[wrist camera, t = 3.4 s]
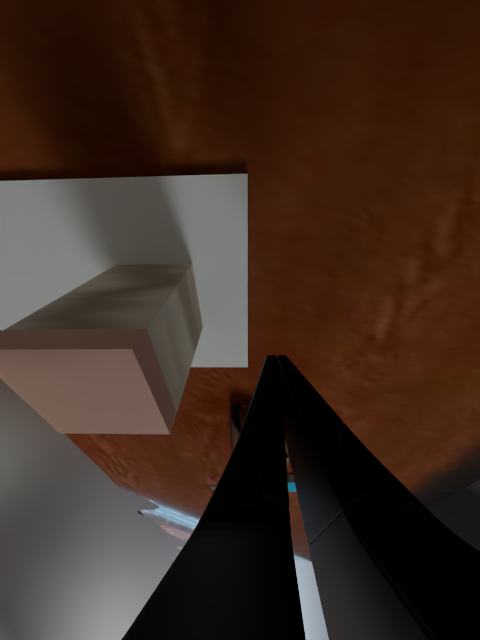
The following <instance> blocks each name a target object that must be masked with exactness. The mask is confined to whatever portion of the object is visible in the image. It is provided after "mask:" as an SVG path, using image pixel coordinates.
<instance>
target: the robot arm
mask: <svg viewBox="0 0 480 640" xmlns="http://www.w3.org/2000/svg"><path fill="white" fill-rule="evenodd" d="M285 441H286V442H285ZM286 445H287V450H288V454H289V459H290V463H291V468H292V473H293V477H294V482H295V486H296V491H297V495H298V500H299V504H300V509H301V514H302V518H303V523H304V527H305V532H306V536H307V541H308V545H309V550H310V555H311V559H312V564H313V569H314V573H315V577H316V582H317V586H318V591H319V596H320V600H321V605H322V609H323V614H324V618H325V623H326V627H327V632H328V637H329V640H480V551H478V550H477V549H475V548H474V547H472V546H471V545H470V544H468V543H467V542H466V541H464V540H463V539H461V538H460V537H458V535H456V534H455V533H454V532H453V531H451V530H450V529H449V528H448V527H447V526H445V525H444V524H443V523H442V522H441V521H440V520H438V519H437V518H436V517H435V516H434V515H433V514H432V513H431V512H430V511H429V510H428V509H427V508H426V507H425V506H424V505H423V504H422V503H421V502H420V501H419V500H418V499H417V498H416V497H415V496H414V495H413V494H412V493H411V492H410V491H409V490H408V489H407V488H406V487H405V486H404V485H403V484H402V483H401V482H400V481H399V480H398V479H397V478H396V477H395V476H394V475H393V474H392V473H391V472H390V471H389V470H388V469H387V468H386V467H385V466H384V465H383V464H382V463H381V462H380V461H379V460H378V459H377V458H376V457H375V456H374V455H373V454H372V453H371V452H370V451H369V450H368V449H367V448H366V447H365V446H364V445H363V444H362V442H361V441H360V440H359V439H358V438H357V437H356V436H355V435H354V434H353V432H352V431H351V430H350V429H349V428H348V427H347V425H346V424H343V421H342V420H341V419H340V417H339V416H338V415H337V414H336V413H335V412H334V411H333V409H332V408H331V407H330V406H329V405H328V404H327V402H326V401H325V400H324V399H323V398H322V397H321V395H320V394H319V393H318V392H317V391H316V390H315V389H314V387H313V386H312V385H311V384H310V383H309V382H308V380H307V379H306V378H305V377H304V376H303V375H302V373H301V372H300V371H299V370H298V369H297V368H296V367H295V365H294V364H293V363H292V362H291V361H290V360H289V358H288V357H287V356H285V355H277V356H275V355H267V356H266V359H265V362H264V365H263V368H262V370H261V373H260V376H259V379H258V382H257V385H256V388H255V391H254V394H253V397H252V400H251V403H250V406H249V409H248V412H247V415H246V418H245V421H244V423H243V426H242V429H241V432H240V435H239V438H238V440H237V443H236V446H235V448H234V450H233V453H232V455H231V457H230V459H229V462H228V464H227V466H226V468H225V470H224V472H223V474H222V476H221V478H220V480H219V482H218V484H217V486H216V489H215V491H214V493H213V495H212V497H211V499H210V501H209V503H208V505H207V507H206V509H205V511H204V513H203V515H202V517H201V519H200V521H199V522H198V524H197V526H196V528H195V530H194V531H193V533H192V535H191V536H190V538H189V540H188V541H187V543H186V544H185V546H184V547H183V549H182V550H181V552H180V553H179V555H178V556H177V558H176V559H175V561H174V562H173V564H172V565H171V567H170V568H169V570H168V571H167V573H166V574H165V576H164V578H163V579H162V580H161V582H160V583H159V585H158V586H157V588H156V589H155V591H154V592H153V594H152V595H151V597H150V598H149V600H148V601H147V603H146V604H145V606H144V607H143V609H142V610H141V612H140V613H139V615H138V616H137V618H136V619H135V621H134V622H133V624H132V625H131V627H130V628H129V630H128V631H127V633H126V634H125V636H124V637H123V638H122V640H306V639H305V632H304V625H303V619H302V612H301V604H300V597H299V590H298V583H297V576H296V568H295V561H294V554H293V547H292V538H291V528H290V513H289V495H288V478H287V460H286Z"/></svg>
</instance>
